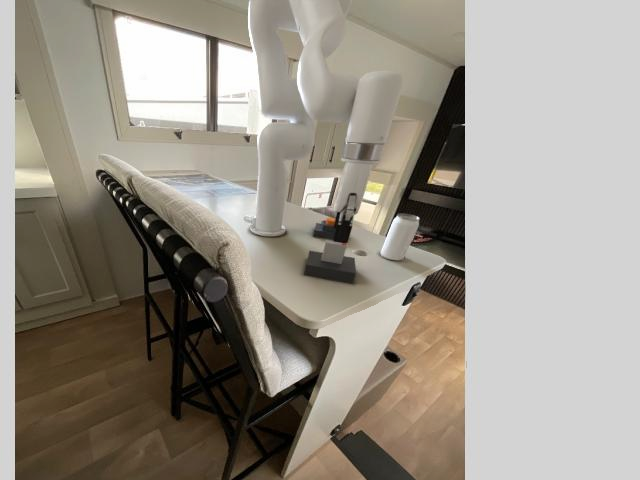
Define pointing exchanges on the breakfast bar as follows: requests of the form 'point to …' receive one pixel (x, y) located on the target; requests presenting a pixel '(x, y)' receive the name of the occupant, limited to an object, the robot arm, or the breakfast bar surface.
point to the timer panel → (330, 268)
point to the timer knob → (333, 252)
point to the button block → (324, 230)
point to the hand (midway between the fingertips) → (339, 234)
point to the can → (400, 236)
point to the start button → (330, 221)
